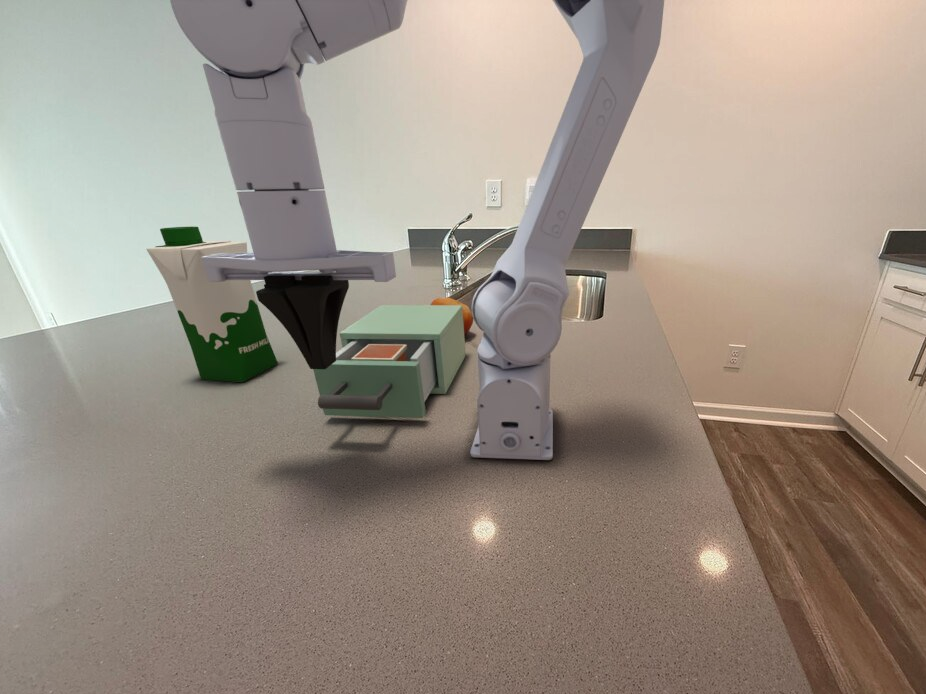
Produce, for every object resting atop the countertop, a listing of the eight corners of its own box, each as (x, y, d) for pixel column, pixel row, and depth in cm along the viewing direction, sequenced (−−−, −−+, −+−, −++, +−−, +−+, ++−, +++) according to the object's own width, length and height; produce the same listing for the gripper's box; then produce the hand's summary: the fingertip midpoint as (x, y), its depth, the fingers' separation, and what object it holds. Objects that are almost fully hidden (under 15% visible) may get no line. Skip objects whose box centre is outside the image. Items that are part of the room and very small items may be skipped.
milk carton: (239, 358, 65) (194, 225, 56) (288, 362, 63) (250, 224, 55) (189, 381, 57) (129, 230, 49) (244, 386, 56) (192, 230, 47)
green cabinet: (445, 394, 52) (439, 333, 49) (351, 391, 53) (339, 332, 50) (465, 355, 64) (462, 305, 61) (388, 354, 66) (381, 304, 62)
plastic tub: (398, 399, 47) (392, 359, 44) (358, 398, 47) (350, 358, 45) (412, 382, 51) (406, 344, 49) (375, 381, 51) (368, 343, 49)
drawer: (409, 441, 41) (400, 385, 38) (301, 438, 42) (285, 382, 39) (448, 372, 56) (444, 328, 53) (369, 371, 57) (361, 328, 54)
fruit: (413, 327, 74) (432, 286, 72) (451, 342, 78) (469, 304, 76) (424, 340, 67) (445, 296, 65) (465, 356, 71) (485, 315, 70)
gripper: (398, 189, 32) (418, 349, 38) (228, 193, 34) (273, 347, 39) (361, 188, 26) (391, 381, 32) (153, 193, 27) (219, 377, 33)
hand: (323, 364), depth 35 cm, fingers closed
